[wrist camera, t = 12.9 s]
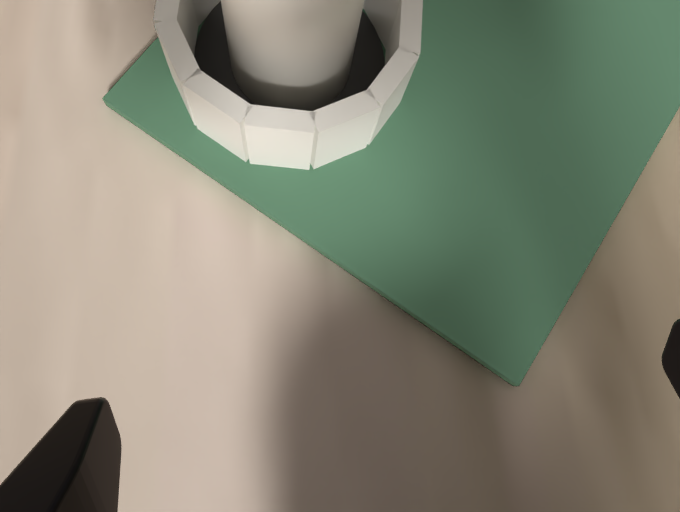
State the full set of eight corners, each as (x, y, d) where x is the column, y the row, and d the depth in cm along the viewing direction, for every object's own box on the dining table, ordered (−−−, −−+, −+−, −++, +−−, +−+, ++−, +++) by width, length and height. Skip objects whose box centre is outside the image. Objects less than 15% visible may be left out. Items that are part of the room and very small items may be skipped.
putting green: (717, 31, 28) (790, -29, 24) (512, 385, 23) (561, 385, 19) (372, -191, 29) (386, -284, 25) (106, 105, 24) (71, 48, 20)
